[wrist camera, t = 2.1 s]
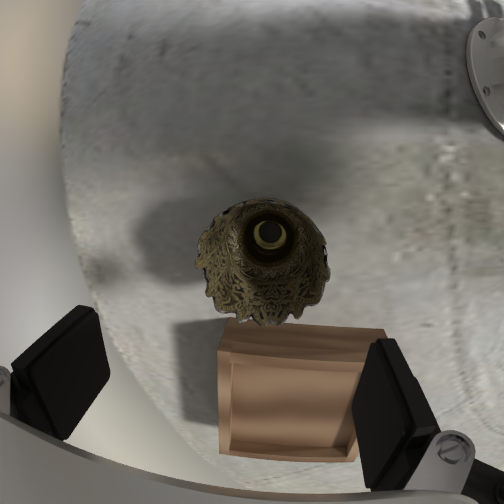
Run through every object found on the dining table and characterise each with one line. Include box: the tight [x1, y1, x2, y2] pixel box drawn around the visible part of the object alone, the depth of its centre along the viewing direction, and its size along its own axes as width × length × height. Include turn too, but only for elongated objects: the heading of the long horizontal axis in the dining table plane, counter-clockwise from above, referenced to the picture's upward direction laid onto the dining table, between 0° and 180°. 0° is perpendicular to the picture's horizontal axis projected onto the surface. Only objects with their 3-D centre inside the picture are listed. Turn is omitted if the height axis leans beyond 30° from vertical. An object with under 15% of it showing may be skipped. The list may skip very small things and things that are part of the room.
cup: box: [195, 198, 331, 327], centre depth 21 cm, size 8×7×8 cm
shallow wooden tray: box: [217, 317, 387, 462], centre depth 27 cm, size 14×14×6 cm
